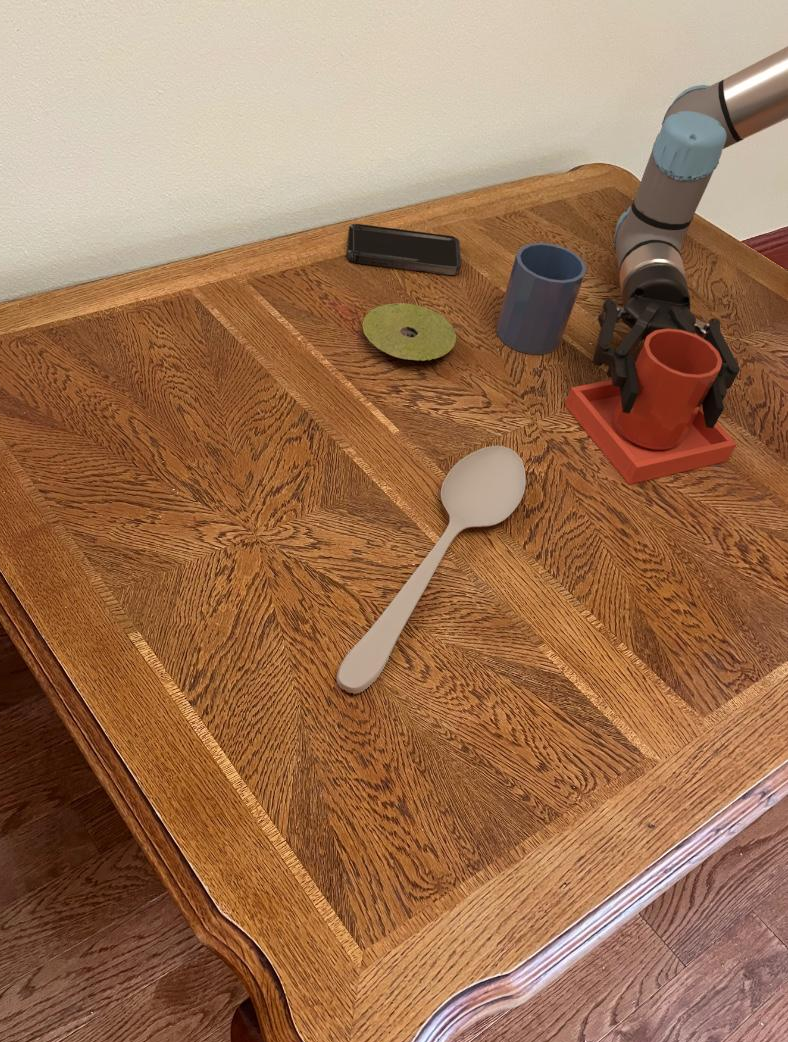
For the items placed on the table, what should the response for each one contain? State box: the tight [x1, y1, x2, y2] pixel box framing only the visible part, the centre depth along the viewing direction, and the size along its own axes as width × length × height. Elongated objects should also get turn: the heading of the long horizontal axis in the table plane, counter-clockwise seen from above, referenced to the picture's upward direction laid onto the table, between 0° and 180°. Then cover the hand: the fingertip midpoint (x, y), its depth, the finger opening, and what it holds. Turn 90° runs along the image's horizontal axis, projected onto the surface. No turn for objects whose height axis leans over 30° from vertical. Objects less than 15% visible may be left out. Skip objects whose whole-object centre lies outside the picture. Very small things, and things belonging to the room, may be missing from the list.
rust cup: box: [613, 328, 722, 450], centre depth 103 cm, size 8×8×10 cm
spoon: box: [336, 445, 527, 695], centre depth 90 cm, size 35×8×3 cm, turn 150°
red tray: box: [564, 379, 738, 485], centre depth 106 cm, size 14×14×3 cm
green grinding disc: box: [362, 302, 457, 362], centre depth 112 cm, size 11×11×2 cm
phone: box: [346, 223, 462, 276], centre depth 125 cm, size 8×1×15 cm
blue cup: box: [495, 242, 588, 356], centre depth 113 cm, size 8×8×10 cm
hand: (672, 410), depth 99 cm, fingers closed on rust cup, 8 cm apart
